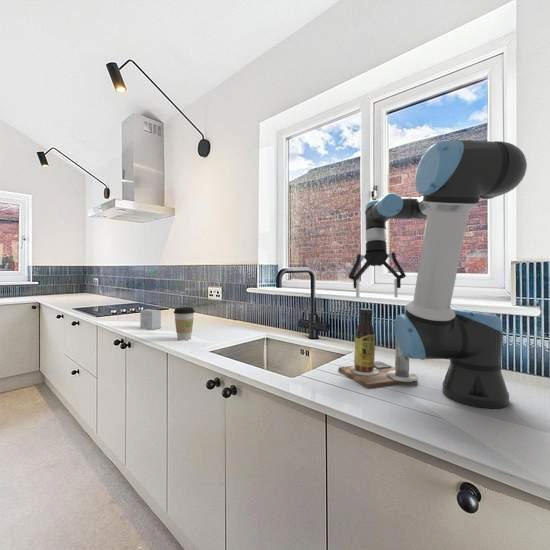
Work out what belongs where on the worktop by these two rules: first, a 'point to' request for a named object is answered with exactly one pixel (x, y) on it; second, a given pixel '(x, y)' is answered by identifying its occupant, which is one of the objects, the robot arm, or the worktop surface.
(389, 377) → the board
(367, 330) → the sauce bottle
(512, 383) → the worktop surface
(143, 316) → the skincare box
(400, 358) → the peg
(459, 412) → the worktop surface
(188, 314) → the coffee cup
